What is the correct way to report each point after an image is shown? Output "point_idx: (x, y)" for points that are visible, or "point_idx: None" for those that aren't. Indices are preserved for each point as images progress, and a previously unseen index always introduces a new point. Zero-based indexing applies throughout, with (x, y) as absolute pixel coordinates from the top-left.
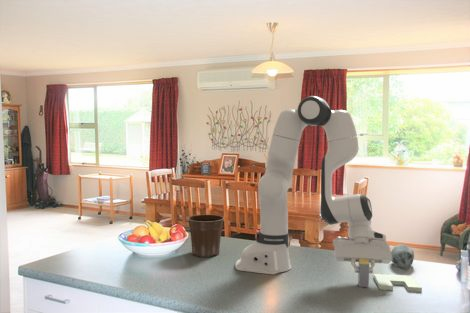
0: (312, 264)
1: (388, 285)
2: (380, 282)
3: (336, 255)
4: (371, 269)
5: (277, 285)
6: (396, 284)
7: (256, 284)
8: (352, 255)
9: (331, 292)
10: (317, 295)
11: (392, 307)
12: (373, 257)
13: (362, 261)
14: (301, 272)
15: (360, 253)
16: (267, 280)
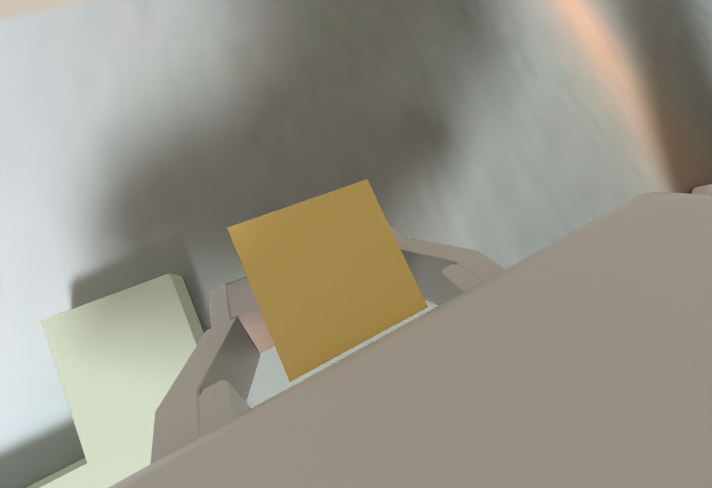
0: None
1: (88, 309)
2: (172, 344)
3: (672, 194)
4: (225, 297)
5: (610, 89)
6: (39, 480)
7: (657, 71)
8: (543, 277)
9: (418, 101)
10: (451, 47)
11: (55, 21)
12: (158, 475)
13: (337, 207)
14: None
15: (473, 392)
16: (661, 123)
